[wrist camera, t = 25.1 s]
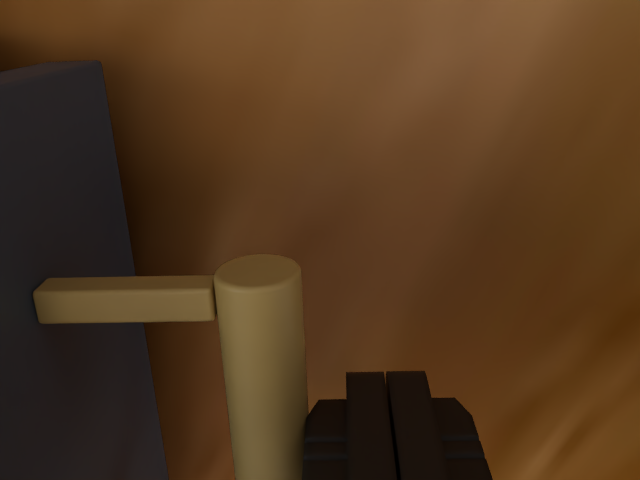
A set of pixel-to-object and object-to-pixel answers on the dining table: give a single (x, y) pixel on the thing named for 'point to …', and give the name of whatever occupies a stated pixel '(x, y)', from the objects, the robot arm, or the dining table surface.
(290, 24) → the dining table surface
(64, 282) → the drawer
